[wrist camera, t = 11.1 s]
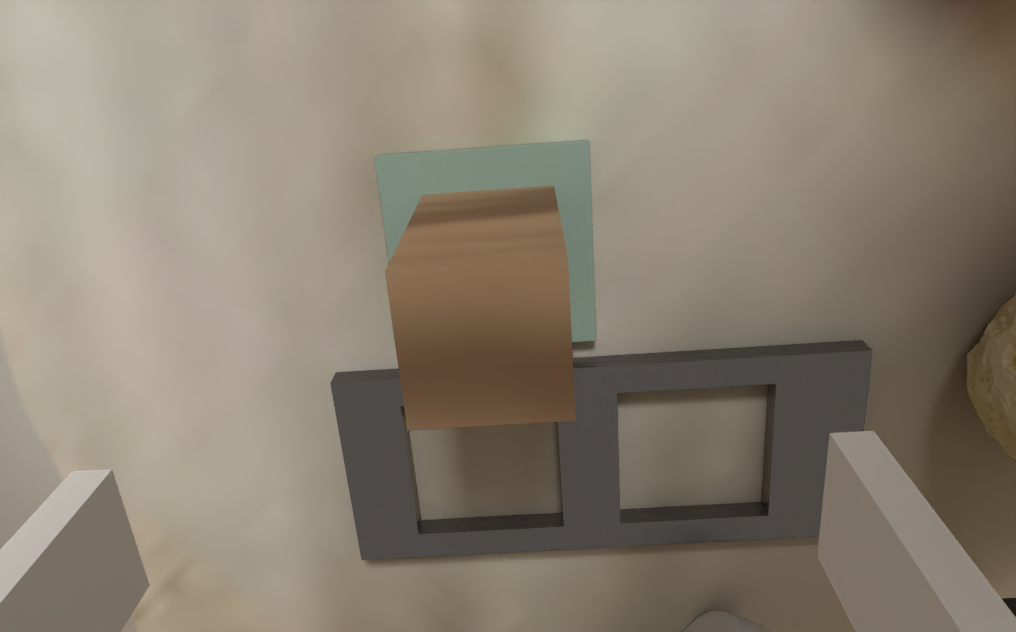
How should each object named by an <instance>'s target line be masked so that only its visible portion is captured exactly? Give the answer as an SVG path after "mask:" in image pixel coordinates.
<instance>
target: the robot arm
mask: <svg viewBox="0 0 1016 632" xmlns="http://www.w3.org/2000/svg"><path fill="white" fill-rule="evenodd" d="M817 557H818V559H819V561H820V563H821V565H822V567H823V569H824V571H825V573H826V575H827V577H828V579H829V581H830V583H831V585H832V587H833V589H834V591H835V593H836V595H837V597H838V599H839V601H840V603H841V605H842V607H843V609H844V611H845V613H846V615H847V617H848V619H849V621H850V623H851V625H852V627H853V629H854V631H855V632H1016V598H1002V599H1001V597H1000V596H999V595H998V593H997V592H996V591H995V590H994V588H993V587H992V586H991V584H990V583H989V582H988V580H987V579H986V578H985V576H984V575H983V574H982V572H981V571H980V570H979V569H978V567H977V566H976V565H975V563H974V562H973V561H972V559H971V558H970V557H969V555H968V554H967V553H966V551H965V550H964V549H963V547H962V546H961V545H960V544H959V542H958V541H957V540H956V538H955V537H954V536H953V534H952V533H951V532H950V530H949V529H948V528H947V526H946V525H945V524H944V523H943V521H942V520H941V519H940V517H939V516H938V515H937V513H936V512H935V511H934V509H933V508H932V507H931V505H930V504H929V503H928V502H927V500H926V499H925V498H924V496H923V495H922V494H921V492H920V491H919V490H918V488H917V487H916V486H915V484H914V483H913V482H912V481H911V479H910V478H909V477H908V475H907V474H906V473H905V471H904V470H903V469H902V467H901V466H900V465H899V463H898V462H897V461H896V459H895V458H894V457H893V456H892V454H891V453H890V452H889V450H888V449H887V448H886V446H885V445H884V444H883V442H882V441H881V440H880V438H879V437H878V436H877V435H876V433H875V432H874V431H858V432H839V433H830V435H829V445H828V455H827V465H826V474H825V484H824V494H823V504H822V514H821V524H820V533H819V543H818V553H817ZM148 587H149V582H148V579H147V576H146V573H145V570H144V567H143V564H142V561H141V558H140V554H139V551H138V548H137V545H136V542H135V539H134V536H133V533H132V530H131V527H130V523H129V520H128V517H127V514H126V511H125V508H124V505H123V502H122V499H121V496H120V492H119V489H118V486H117V483H116V480H115V477H114V474H113V471H112V469H110V470H91V471H72V472H71V473H70V474H69V475H68V476H67V478H66V479H65V480H64V481H63V482H62V483H61V484H60V485H59V486H58V487H57V489H56V490H55V491H54V492H53V493H52V494H51V495H50V496H49V497H48V498H47V499H46V501H45V502H44V503H43V504H42V505H41V506H40V507H39V508H38V509H37V510H36V511H35V513H34V514H33V515H32V516H31V517H30V518H29V519H28V520H27V521H26V522H25V524H24V525H23V526H22V527H21V528H20V529H19V530H18V531H17V532H16V533H15V534H14V536H13V537H12V538H11V539H10V540H9V541H8V542H7V543H6V544H5V545H4V546H3V548H2V549H1V550H0V632H121V631H122V629H123V627H124V626H125V624H126V622H127V621H128V619H129V618H130V616H131V614H132V613H133V611H134V610H135V608H136V606H137V605H138V603H139V601H140V600H141V598H142V597H143V595H144V593H145V592H146V590H147V588H148Z"/></svg>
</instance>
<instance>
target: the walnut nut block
mask: <svg viewBox="0 0 1016 632" xmlns="http://www.w3.org/2000/svg"><path fill="white" fill-rule="evenodd" d="M385 273H386V281H387V288H388V295H389V302H390V309H391V316H392V324H393V331H394V338H395V345H396V352H397V360H398V367H399V374H400V381H401V388H402V396H403V403H404V410H405V417H406V424H407V431H408V430H425V429H442V428H459V427H476V426H493V425H510V424H527V423H544V422H561V421H576V416H575V395H574V374H573V352H572V331H571V310H570V289H569V268H568V256H567V251H566V246H565V240H564V235H563V230H562V225H561V219H560V214H559V209H558V204H557V199H556V193H555V188H554V185H553V186H539V187H524V188H510V189H496V190H482V191H467V192H453V193H439V194H424V195H422V196H421V198H420V200H419V202H418V204H417V206H416V209H415V211H414V213H413V215H412V217H411V219H410V221H409V223H408V225H407V227H406V229H405V231H404V233H403V235H402V238H401V240H400V242H399V244H398V246H397V248H396V250H395V252H394V254H393V256H392V258H391V260H390V262H389V265H388V267H387V269H386V271H385Z"/></svg>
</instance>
